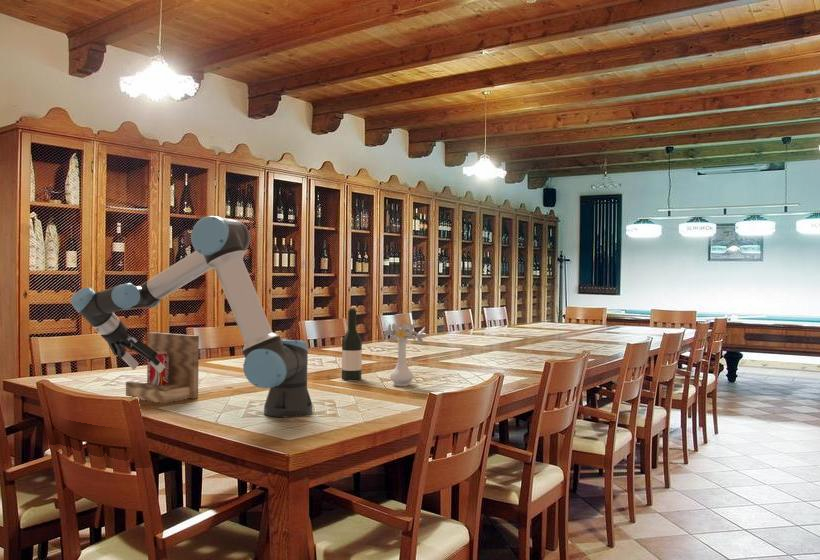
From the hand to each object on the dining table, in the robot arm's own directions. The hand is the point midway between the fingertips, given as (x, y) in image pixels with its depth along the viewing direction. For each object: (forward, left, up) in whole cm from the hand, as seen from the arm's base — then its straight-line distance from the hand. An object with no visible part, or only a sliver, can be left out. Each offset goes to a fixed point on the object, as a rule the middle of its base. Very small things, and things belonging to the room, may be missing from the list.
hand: (148, 368), depth 221 cm
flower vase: (-23, -92, -11) cm, 95 cm away
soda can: (+2, -4, -7) cm, 8 cm away
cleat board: (+2, -4, -11) cm, 12 cm away
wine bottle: (0, -82, -11) cm, 83 cm away
